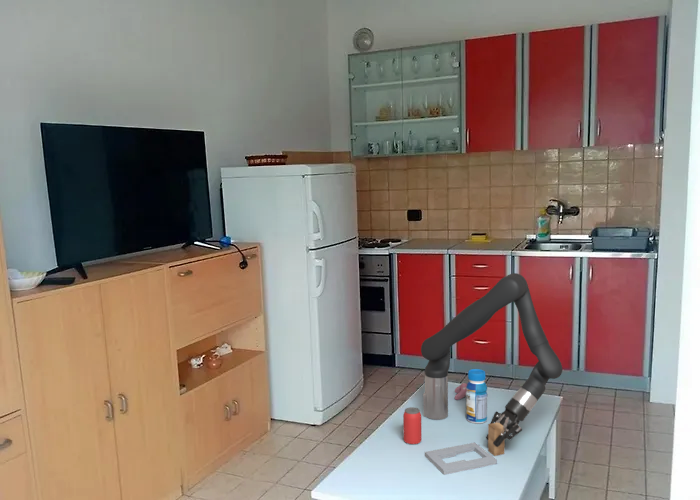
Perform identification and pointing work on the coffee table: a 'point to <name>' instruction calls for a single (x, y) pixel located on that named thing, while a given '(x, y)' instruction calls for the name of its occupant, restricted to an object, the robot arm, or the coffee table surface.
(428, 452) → the keyhole plate
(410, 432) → the beer can
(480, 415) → the beverage bottle
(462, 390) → the video game controller
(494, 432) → the tan peg
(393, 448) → the coffee table surface
